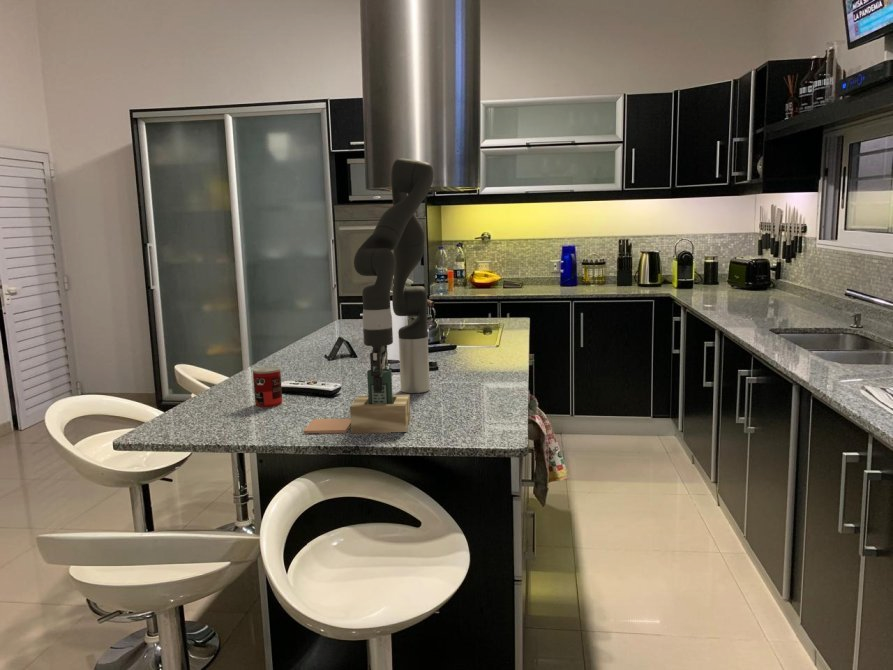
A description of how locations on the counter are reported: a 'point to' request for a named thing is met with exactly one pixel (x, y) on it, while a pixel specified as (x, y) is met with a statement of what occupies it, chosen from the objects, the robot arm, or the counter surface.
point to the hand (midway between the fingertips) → (380, 387)
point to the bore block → (380, 415)
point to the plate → (328, 426)
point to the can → (386, 393)
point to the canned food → (267, 386)
